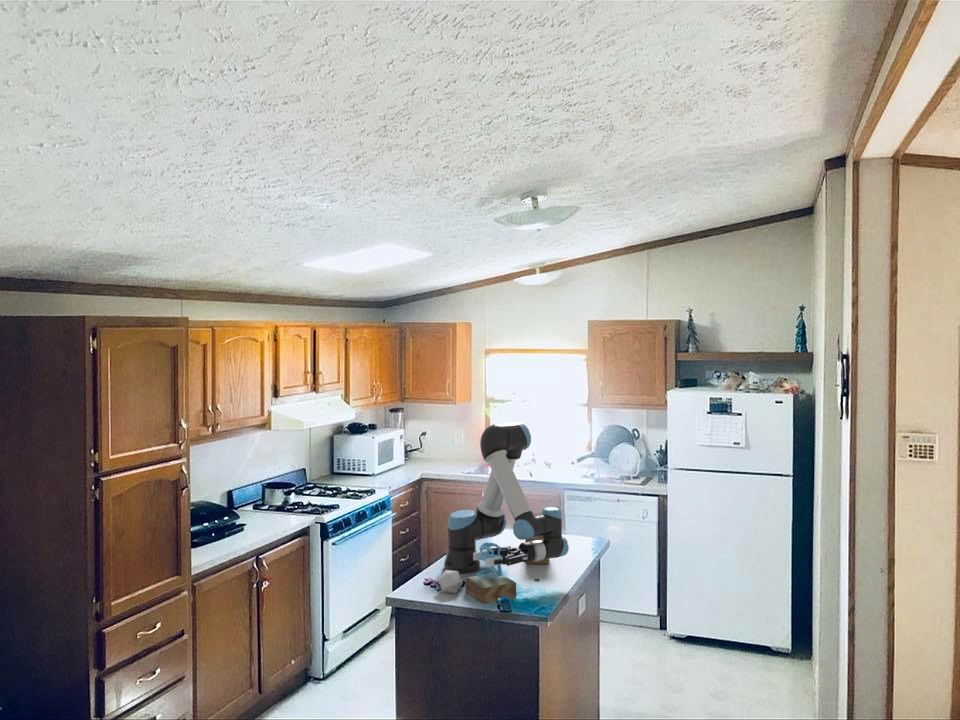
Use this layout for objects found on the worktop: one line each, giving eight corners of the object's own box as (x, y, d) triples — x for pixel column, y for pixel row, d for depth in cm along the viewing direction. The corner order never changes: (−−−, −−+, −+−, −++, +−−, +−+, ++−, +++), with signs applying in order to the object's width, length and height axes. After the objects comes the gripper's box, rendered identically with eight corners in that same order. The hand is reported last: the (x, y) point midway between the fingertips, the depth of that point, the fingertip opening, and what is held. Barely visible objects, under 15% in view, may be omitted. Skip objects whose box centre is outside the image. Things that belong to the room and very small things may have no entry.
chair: (494, 579, 281) (494, 547, 281) (475, 576, 286) (475, 544, 286) (505, 574, 288) (505, 542, 288) (486, 571, 292) (486, 539, 292)
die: (447, 598, 286) (462, 577, 286) (430, 584, 289) (446, 563, 290) (454, 599, 293) (469, 579, 294) (438, 585, 297) (453, 565, 298)
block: (549, 558, 335) (548, 512, 334) (549, 564, 325) (548, 518, 324) (526, 557, 336) (526, 512, 335) (525, 564, 326) (525, 517, 325)
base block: (483, 603, 278) (483, 587, 277) (465, 592, 290) (465, 577, 290) (516, 597, 284) (516, 581, 284) (497, 586, 297) (497, 571, 296)
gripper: (546, 568, 286) (493, 577, 275) (517, 554, 305) (466, 562, 294) (546, 548, 286) (493, 557, 275) (517, 535, 305) (466, 543, 294)
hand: (479, 559), depth 285 cm, fingers closed on chair, 9 cm apart
